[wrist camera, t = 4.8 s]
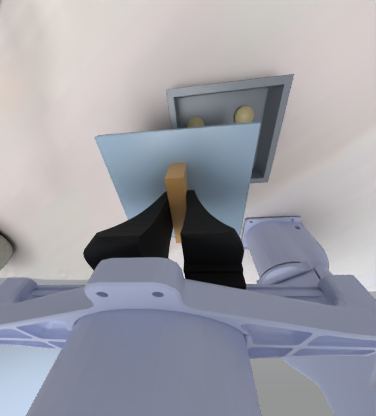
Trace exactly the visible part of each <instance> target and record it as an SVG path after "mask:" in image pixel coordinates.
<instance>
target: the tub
mask: <svg viewBox="0 0 376 416" xmlns="http://www.w3.org/2000/svg"><path fill="white" fill-rule="evenodd" d="M293 76H294V74H290V75H282V76H274V77H266V78H257V79H249V80H241V81H233V82H225V83H217V84H209V85H200V86H192V87H184V88H176V89H168V90H166V94H167V101H168V108H169V115H170V122H171V129H178V128H190V127H201V126H213V125H225V124H237V123H249V122H259V123H261V124H260V129H259V135H258V140H257V146H256V151H255V157H254V162H253V168H252V173H251V179H250V183H263V182H268V179H269V175H270V171H271V167H272V163H273V159H274V155H275V151H276V146H277V142H278V138H279V134H280V130H281V126H282V122H283V117H284V113H285V109H286V105H287V101H288V97H289V93H290V88H291V84H292V80H293Z"/></svg>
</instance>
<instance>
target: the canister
mask: <svg viewBox="0 0 376 416" xmlns="http://www.w3.org/2000/svg"><path fill="white" fill-rule="evenodd" d="M12 252H13V249H12V246H11V244H10V243H9V241H7V240H6V238H4V237H3V236H2V235H0V270H1V269H2V268H3V267H4V266H5V265H6V264H7V262H8V261H9V260H10V258H11V256H12Z"/></svg>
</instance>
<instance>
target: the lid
mask: <svg viewBox="0 0 376 416" xmlns="http://www.w3.org/2000/svg"><path fill="white" fill-rule="evenodd" d="M260 124H261V123H259V122H249V123H237V124H225V125H213V126H201V127H190V128H178V129H166V130H154V131H142V132H130V133H118V134H106V135H98V136H95V140H96V142H97V145H98V147H99V150H100V152H101V154H102V157H103V159H104V162H105V164H106V167H107V169H108V172H109V174H110V176H111V179H112V181H113V184H114V186H115V189H116V191H117V193H118V196H119V198H120V201H121V203H122V206H123V208H124V211H125V213H126V215H127V218H128V220H129V219H131V218H133V217H135V216H136V215H138V214H140V213H141V212H143V211H144V210H145V209H147V208H148V207H149V206H150V205H151V204H153V203H154V202H155V201H156V200H157V199H158V198H159V197H160V196H161V195H162V194H163V193H164V192H165V191H167V195H168V201H169V206H170V211H171V217H172V222H173V231H172V236H171V237H175V238H176V243H181V236H180V232H181V230H182V227H183V223H184V219H185V214H186V193H187V190H195V193H196V195H197V197H198V199H199V201H200V202H201V204H202V205H203V206H204V208H205V209H206V210H207V211H208V212H209V213H210V214H211V215H212V216H214V217H215V218H216V219H218V220H219V221H221V222H222V223H224V224H226V225H228V226H230V227H232V228H234V229H235V230H236V232H237V233H238V235H240V234H241V229H242V223H243V217H244V212H245V206H246V201H247V195H248V190H249V184H250V179H251V173H252V168H253V162H254V157H255V151H256V146H257V140H258V135H259V129H260Z"/></svg>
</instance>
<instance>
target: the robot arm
mask: <svg viewBox="0 0 376 416" xmlns="http://www.w3.org/2000/svg"><path fill="white" fill-rule="evenodd" d="M301 220H302V218H301V217H299V216H297V217H276V218H254V219H246V220H245V225H244V230H243V236H242V241H241V239H240V237H239V235H238V233H237V232H236V230H235V229H234V228H232V227H230V226H228V225H226V224H224V223H222V222H221V221H219V220H218V219H216V218H215V217H214V216H212V215H211V214H210V213H209V212H208V211H207V210H206V209H205V208H204V206H203V205H202V204H201V202H200V201H199V199H198V197H197V195H196V193H195V190H187V193H186V214H185V219H184V223H183V227H182V230H181V232H180V236H181V243H182V249H183V256H184V273H185V279H184V277H183V273H182V269H181V268H180V266H179V265H178V264H177V263H176V262H174V261H172V260H170V259H168V254H169V245H170V240H171V236H172V231H173V222H172V217H171V211H170V206H169V201H168V195H167V191H165V192H164V193H163V194H162V195H161V196H160V197H159V198H158V199H157V200H156V201H155V202H154V203H153V204H151V205H150V206H149V207H148V208H147V209H145V210H144V211H143V212H141V213H140V214H138V215H136V216H135V217H133V218H131V219H129V220H128V221H126V222H124V223H121V224H119V225H117V226H115V227H112V228H109V229H107V230H104V231H101V232H98V233H96V235H95V236H94V237H93V239H92V240H91V241H90V243H89V244H88V245H87V247H86V248H85V250H84V252H83V254H84V258H85V260H86V261H87V263H88V264H89V265H90V266H91V268H92V269H93V270H94V272H93V274H92V275H91V277H90V279H89V280H88V282H87V284H86V285H38V284H37V283H36V282H35V281H33V280H32V279H29V278H7V279H6V280H5V281H4V282H3V283H2V284H1V285H0V345H10V346H26V347H38V348H48V349H57V350H61V351H60V353H59V355H58V357H57V359H56V361H55V363H54V365H53V367H52V368H51V370H50V372H49V374H48V376H47V377H46V379H45V381H44V383H43V385H42V387H41V389H40V391H39V392H38V394H37V396H36V398H35V400H34V402H33V403H32V405H31V407H30V409H29V411H28V413H27V415H26V416H262V415H261V410H260V405H259V401H258V396H257V391H256V387H255V382H254V378H253V373H252V368H251V363H250V359H258V358H282V359H283V360H284V361H285V362H286V363H287V364H289V365H290V366H292V367H293V368H295V369H296V370H297V371H299V372H300V373H302V374H303V375H305V376H306V377H308V378H309V379H311V380H312V381H313V382H315V383H316V384H317V385H318V386H319V387H320V388H321V390H322V392H323V394H324V396H325V398H326V400H327V402H328V404H329V406H330V408H331V410H332V412H333V414H334V416H376V299H375V298H374V297H373V296H372V295H371V294H370V293H369V292H368V291H367V290H366V289H365V288H364V286H363V285H362V284H361V283H360V282H359V281H358V280H357V279H356V278H355V277H354V276H353V275H333V274H332V273H331V272H330V271H329V261H328V258H327V255H326V253H325V251H324V249H323V248H322V246H321V245H320V244H319V243H318V242H317V241H316V240H315V238H314V237H313V236H312V235H311V234H310V233H309V232H308V231H307V229H306V228H305V227H304V226H303V225H302V224H301V223H300V222H301ZM250 221H251V222H250ZM244 249H249V250H250V253H251V256H252V259H253V261H254V264H255V267H256V269H257V272H258V275H259V278H260V279H259V280H257V284H246V283H245V279H244V276H243V267H242V259H243V254H244Z"/></svg>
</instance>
